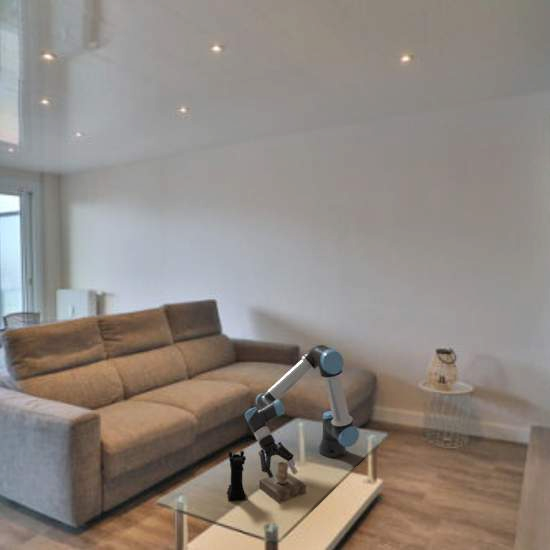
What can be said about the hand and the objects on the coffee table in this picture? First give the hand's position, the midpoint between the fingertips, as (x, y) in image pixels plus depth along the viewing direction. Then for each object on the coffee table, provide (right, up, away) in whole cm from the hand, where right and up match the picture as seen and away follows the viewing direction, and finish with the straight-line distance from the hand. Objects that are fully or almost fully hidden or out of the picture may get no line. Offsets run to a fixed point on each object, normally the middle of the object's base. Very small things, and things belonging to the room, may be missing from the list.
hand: (286, 478), depth 227 cm
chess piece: (-24, -7, -4) cm, 25 cm away
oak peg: (-2, -7, +2) cm, 7 cm away
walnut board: (-2, -7, +2) cm, 7 cm away
